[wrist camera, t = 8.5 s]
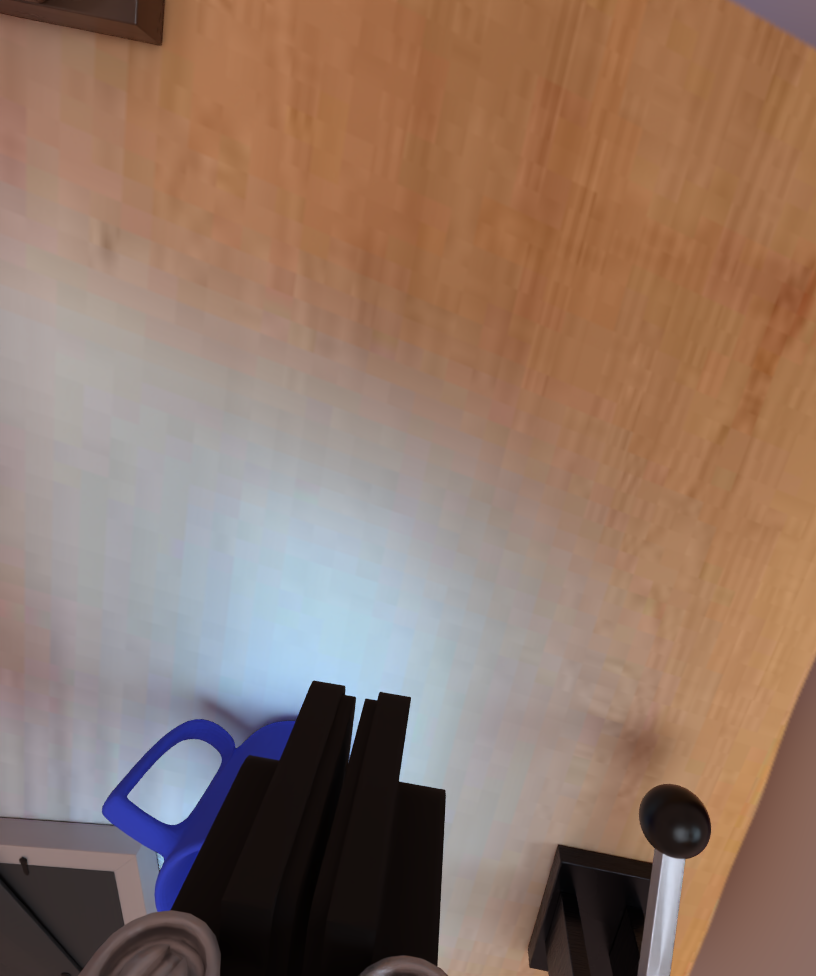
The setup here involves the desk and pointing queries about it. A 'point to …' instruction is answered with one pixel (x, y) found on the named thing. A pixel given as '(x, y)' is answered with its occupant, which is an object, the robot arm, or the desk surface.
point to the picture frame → (67, 892)
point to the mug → (190, 834)
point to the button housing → (96, 16)
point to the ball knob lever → (668, 867)
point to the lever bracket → (591, 915)
